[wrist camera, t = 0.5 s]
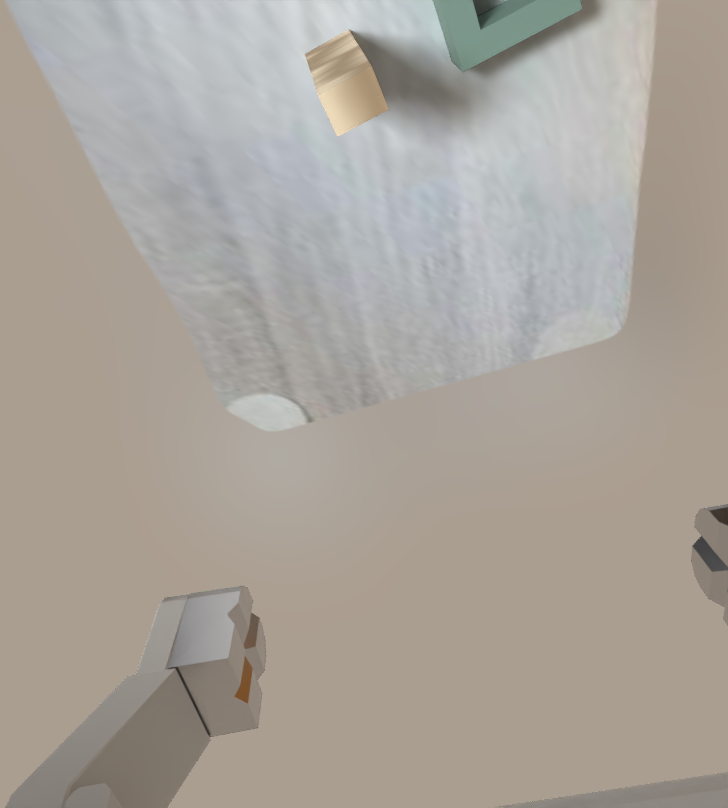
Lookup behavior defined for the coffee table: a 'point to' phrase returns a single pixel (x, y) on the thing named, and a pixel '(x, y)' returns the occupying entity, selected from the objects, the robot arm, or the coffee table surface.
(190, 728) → the robot arm
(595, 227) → the coffee table surface
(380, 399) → the coffee table surface
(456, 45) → the sage square frame
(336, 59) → the light wooden block
